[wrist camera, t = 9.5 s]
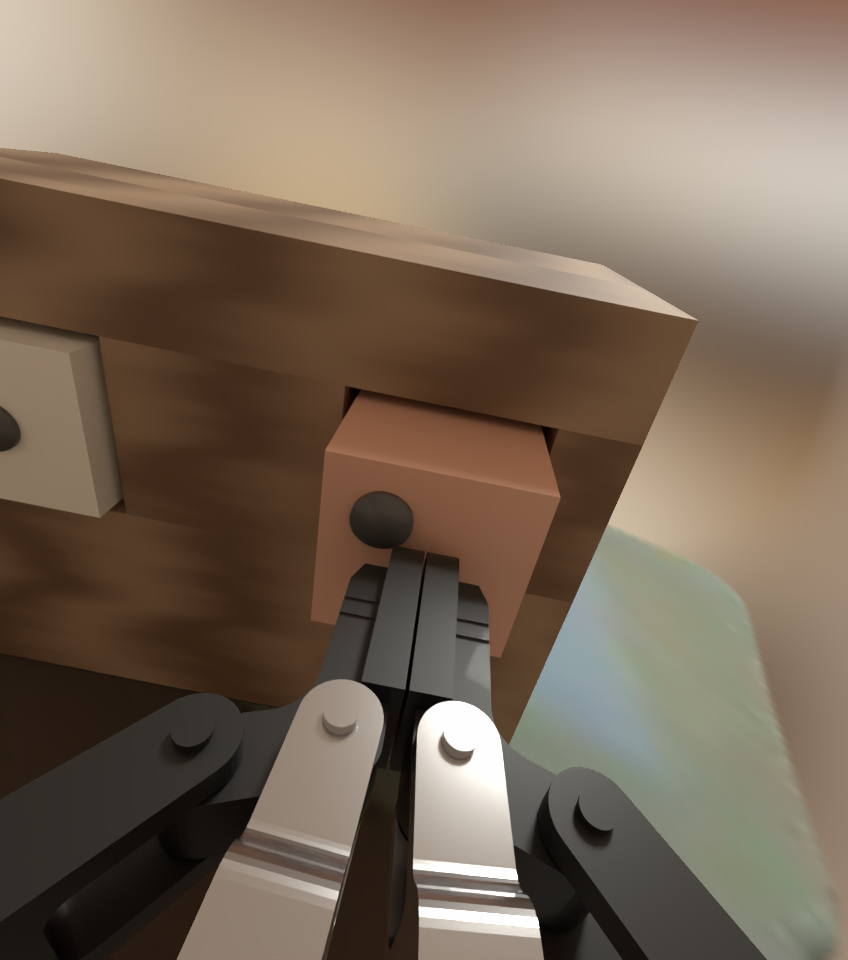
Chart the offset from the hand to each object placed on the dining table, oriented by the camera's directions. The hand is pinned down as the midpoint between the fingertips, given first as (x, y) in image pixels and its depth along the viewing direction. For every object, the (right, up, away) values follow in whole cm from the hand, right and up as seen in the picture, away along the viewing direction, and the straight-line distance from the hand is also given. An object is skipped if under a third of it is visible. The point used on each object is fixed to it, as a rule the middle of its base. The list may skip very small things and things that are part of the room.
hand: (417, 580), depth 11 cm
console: (-7, -4, +13) cm, 15 cm away
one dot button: (-12, +3, +5) cm, 13 cm away
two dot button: (0, -1, +4) cm, 4 cm away
